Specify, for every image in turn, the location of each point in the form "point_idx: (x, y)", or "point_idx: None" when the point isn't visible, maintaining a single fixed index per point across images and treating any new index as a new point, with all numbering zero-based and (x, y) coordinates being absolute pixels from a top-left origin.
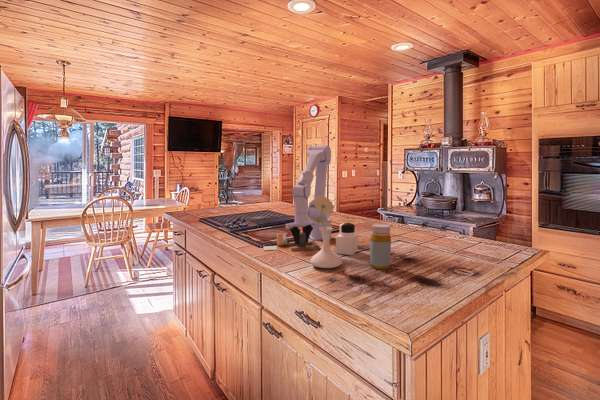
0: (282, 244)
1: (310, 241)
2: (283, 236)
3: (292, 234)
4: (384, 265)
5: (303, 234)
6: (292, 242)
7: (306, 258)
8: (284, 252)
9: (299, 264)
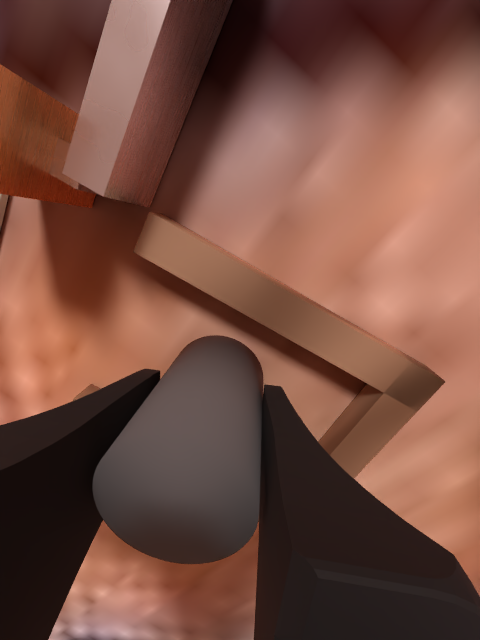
0: (77, 201)
1: (389, 365)
2: (115, 5)
3: (29, 424)
4: None
5: (169, 557)
6: (183, 262)
7: (85, 570)
8: (13, 402)
9: None
